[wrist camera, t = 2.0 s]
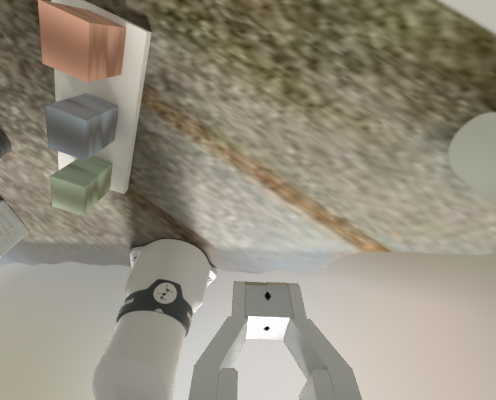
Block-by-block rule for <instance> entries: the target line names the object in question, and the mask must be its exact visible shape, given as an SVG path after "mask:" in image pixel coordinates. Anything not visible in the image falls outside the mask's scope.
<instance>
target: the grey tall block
mask: <svg viewBox="0 0 496 400" xmlns="http://www.w3.org/2000/svg"><path fill="white" fill-rule="evenodd" d="M45 109H46V123H47V138H48V148H50V149H53V150H56V151H59V152H62V153H65V154H68V155H71V156H74V157H77V158H79V159H82V160H85V161H86V160H87V159H89V158H90V157H91V156H93V155H94V154H96V153H97V152H99V151H100V150H102V149H103V148H104V147H106V146H107V145H109V144H110V143H112V142H113V141H115V135H116V125H117V115H118V106H116V105H114V104H111V103H109V102H106V101H104V100H101V99H99V98H96V97H94V96H91V95H89V94H87V93H85V94H82V95H78V96H75V97H72V98H68V99H65V100H61V101H58V102H54V103H51V104H47V105H45Z"/></svg>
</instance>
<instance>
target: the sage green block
mask: <svg viewBox="0 0 496 400" xmlns="http://www.w3.org/2000/svg"><path fill="white" fill-rule="evenodd" d="M112 165H113V164H112V163H109V162H106V161H103V160H101V159H98V158H95V157H92V156H91V157H90V158H89V159H87V160H86V161H85V160H82V159H79V158H77V159H76V160H74V161H73V162H71V163H70V164H68V165H67V166H65V167H64V168H62V169H60V170H59V171H57V172H56V173H54V174H53V175H51V176H50V181H51V195H52V206H53V207H56V208H60V209H63V210H66V211H70V212H73V213H76V214H80V215H83V216H84V215H85V214H86V213H87V212H88V211H89V210H90V209H91V208H92V207H93V206H94V205H95V204H96V203H97V202H98V201H99V200H100V199H101V198H102V197H103V196H104V195H105V194H106V193H107V192H108V191H109V190H110V184H111V175H112Z"/></svg>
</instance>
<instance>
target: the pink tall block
mask: <svg viewBox="0 0 496 400" xmlns="http://www.w3.org/2000/svg"><path fill="white" fill-rule="evenodd" d="M38 8H39V23H40V37H41V51H42V64H44V65H47V66H49V67H52V68H54V69H56V70H59V71H61V72H64V73H66V74H69V75H71V76H73V77H76V78H78V79H81V80H83V81H86V82H92V81H96V80H100V79H105V78H109V77H114V76H118V75H122V65H123V55H124V46H125V36H126V28H125V27H123V26H121V25H119V24H117V23H115V22H113V21H111V20H108V19H106V18H104V17H102V16H100V15H98V14H96V13H94V12H92V11H90V10H87V9H82V8H77V7H73V6H68V5H63V4H59V3H54V2H49V1H45V0H38Z"/></svg>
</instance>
